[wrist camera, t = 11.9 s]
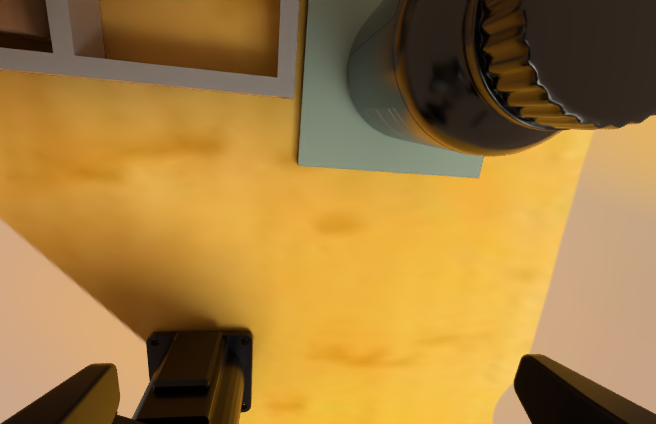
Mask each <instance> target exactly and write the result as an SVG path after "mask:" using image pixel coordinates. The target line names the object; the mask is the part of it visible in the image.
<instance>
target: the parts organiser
mask: <svg viewBox="0 0 656 424" xmlns="http://www.w3.org/2000/svg"><path fill="white" fill-rule="evenodd" d="M46 7H47V14H48V21H49V27H50V34H51V41H52V48H53V53H47V52H38V51H29V50H20V49H10V48H1V47H0V70H4V71H14V72H25V73H35V74H45V75H55V76H65V77H75V78H85V79H95V80H105V81H115V82H125V83H135V84H145V85H155V86H165V87H175V88H185V89H195V90H205V91H216V92H226V93H236V94H246V95H256V96H266V97H276V98H286V99H293V98H294V87H295V69H296V51H297V34H298V16H299V0H281V2H280V26H279V51H278V75H277V77H268V76H259V75H250V74H240V73H231V72H222V71H213V70H204V69H194V68H185V67H176V66H167V65H158V64H148V63H139V62H130V61H121V60H112V59H105V51H104V41H103V32H102V22H101V12H100V3H99V0H46Z"/></svg>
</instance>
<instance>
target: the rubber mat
mask: <svg viewBox="0 0 656 424" xmlns="http://www.w3.org/2000/svg"><path fill="white" fill-rule="evenodd" d="M382 1H383V0H308V10H307V26H306V42H305V57H304V73H303V89H302V105H301V121H300V137H299V153H298V166H308V167H323V168H337V169H352V170H366V171H381V172H395V173H410V174H424V175H439V176H453V177H468V178H479V175H480V171H481V167H482V163H483V158H484V156H476V155H468V154H463V153H458V152H454V151H449V150H445V149H440V148H436V147H431V146H426V145H422V144H417V143H413V142H408V141H404V140H399V139H396V138H392V137H389V136H386V135H384V134H382V133H380V132H378V131H376V130H375V129H373V128H372V127H371V126H370V125H369V124H367V123H366V122H365V121H364V119H363V118H362V117H361V116H360V114H359V113H358V111H357V110H356V108H355V106H354V104H353V102H352V99H351V96H350V93H349V88H348V82H347V64H348V57H349V53H350V50H351V46H352V44H353V41H354V39H355V37H356V35H357V33H358V31H359V30H360V28H361V27H362V25H363V24H364V23H365V21H366V20H367V19H368V17H369V16H370V15H371V14H372V13H373V11H374V10H375V9H376V8H377V7H378V6H379V4H380V3H381V2H382Z"/></svg>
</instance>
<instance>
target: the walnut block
mask: <svg viewBox="0 0 656 424" xmlns="http://www.w3.org/2000/svg"><path fill="white" fill-rule="evenodd" d="M0 36H4V37H13V38H22V39H31V40H40V41H49V42H52V41H51V34H50V27H49V21H48V14H47V7H46V0H0Z"/></svg>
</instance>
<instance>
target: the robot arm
mask: <svg viewBox="0 0 656 424" xmlns="http://www.w3.org/2000/svg"><path fill="white" fill-rule="evenodd" d="M244 338H246V339H248V340H247V341H244V340H242V339H244ZM154 339H156V340H158V341H159V342H156V341H154ZM146 345H147V355H148V367H149V378H150V383H149V385H148V387H147V389H146V391H145V393H144V395H143V397H142V399H141V401H140V403H139V405H138V407H137V409H136V411H135V413H134V415H133V417H132V419H130V418H127V417H123V416H120V415H117V409H118V406H119V401H120V391H119V384H118V376H117V369H116V366H115V365H114V364H111V363H105V364H104V363H103V364H102V363H101V364H91V365H89V366H87V367H85V368H84V369H82V370H81V371H79V372H78V373H76V374H75V375H73V376H72V377H70V378H69V379H67V380H66V381H64V382H63V383H61V384H60V385H58V386H57V387H55V388H54V389H52V390H51V391H49V392H48V393H46V394H45V395H43V396H42V397H40V398H39V399H37V400H36V401H34V402H33V403H31V404H30V405H28V406H27V407H25V408H23V409H22V410H20V411H19V412H17V413H16V414H15V415H13V416H11V417H10V418H8V419H7V420H5V421H4V422H2V423H1V424H239V419H240V412H247V411H248V410H249V409H250V408H251V399H252V361H253V335H252V334H251V333H250V332H248V331H190V332H153V333H151V334H150V336H149V337H148V339H147V342H146ZM514 389H515V392H516V394H517V396H518V398H519V400H520V402H521V404H522V406H523V407H524V409H525V411H526V413H527V415H528V417H529V419H530V421H531V423H532V424H656V414H654V413H652V412H651V411H649V410H647V409H645V408H643V407H641V406H639V405H637V404H635V403H633V402H632V401H630V400H627V399H626V398H624V397H622V396H620V395H618V394H616V393H614V392H613V391H611V390H609V389H607V388H605V387H603V386H601V385H599V384H597V383H595V382H594V381H592V380H590V379H588V378H586V377H584V376H582V375H580V374H578V373H577V372H575V371H573V370H571V369H569V368H567V367H565V366H563V365H561V364H559V363H558V362H556V361H554V360H552V359H550V358H548V357H546V356H544V355H541V354H526V355H524V356H523V357H522V358H521V360H520V363H519V366H518V369H517V372H516V375H515V378H514ZM243 404H245V405H243Z"/></svg>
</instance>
